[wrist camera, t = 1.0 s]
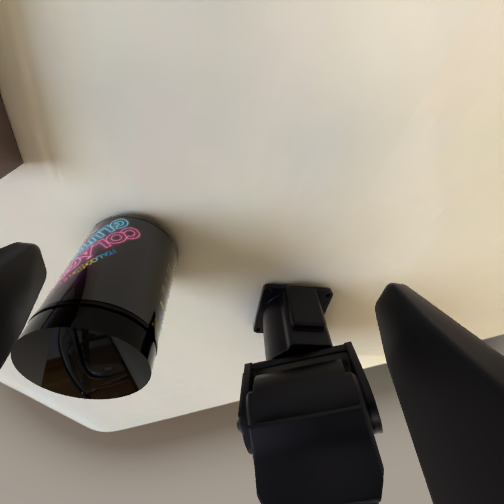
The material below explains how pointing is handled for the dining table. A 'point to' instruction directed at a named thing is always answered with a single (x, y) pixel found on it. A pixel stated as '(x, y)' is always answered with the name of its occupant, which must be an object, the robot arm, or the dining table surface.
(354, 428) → the robot arm
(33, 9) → the dining table surface
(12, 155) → the walnut block
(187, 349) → the dining table surface
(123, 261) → the supplement container
